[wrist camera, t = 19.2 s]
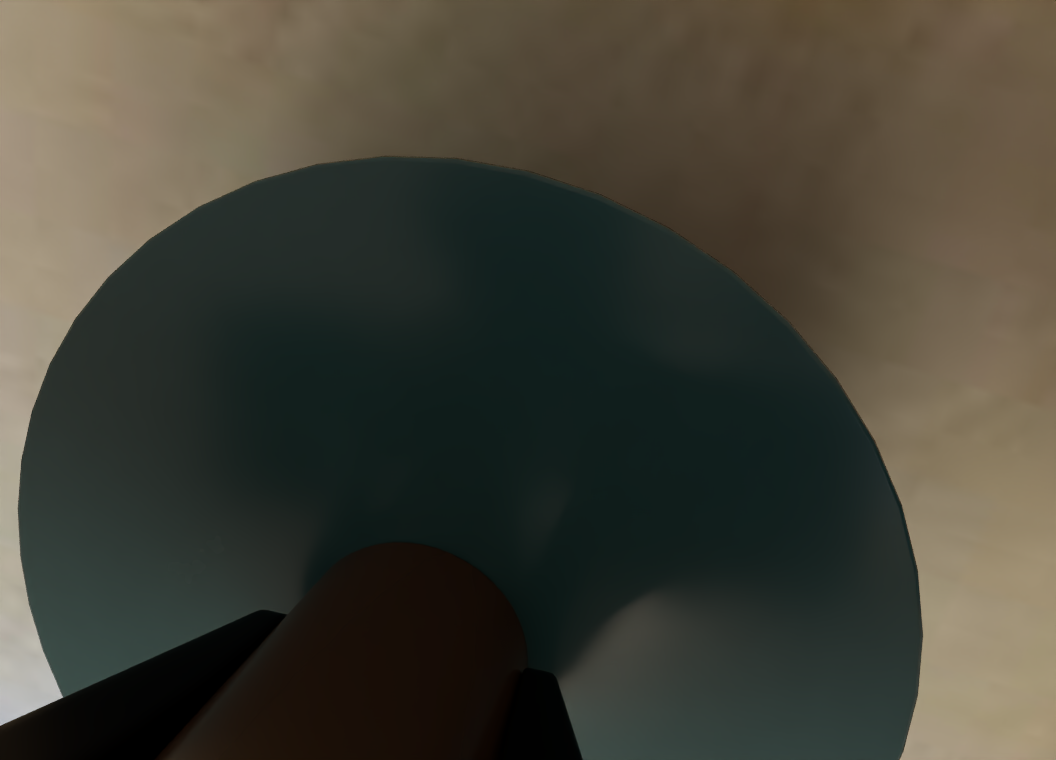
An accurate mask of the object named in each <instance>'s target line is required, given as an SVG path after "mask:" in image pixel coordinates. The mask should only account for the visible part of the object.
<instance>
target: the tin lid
mask: <svg viewBox="0 0 1056 760" xmlns="http://www.w3.org/2000/svg"><path fill="white" fill-rule="evenodd" d="M18 520H19V538H20V556H21V562H22V568H23V574H24V579H25V585H26V590H27V596H28V601H29V606H30V609H31V613H32V616H33V619H34V622H35V626H36V629H37V632H38V636H39V639H40V642H41V646H42V649H43V652H44V654H45V656H46V659H47V661H48V663H49V666H50V668H51V671H52V673H53V675H54V678H55V680H56V682H57V685H58V687H59V689H60V692H61V694H62V696H63V698H64V697H66V696H68V695H70V694H72V693H75V692H77V691H79V690H81V689H84V688H86V687H88V686H90V685H93V684H95V683H97V682H99V681H101V680H104V679H106V678H108V677H110V676H113V675H115V674H117V673H119V672H122V671H124V670H126V669H128V668H130V667H133V666H135V665H137V664H139V663H142V662H144V661H146V660H148V659H151V658H153V657H155V656H157V655H160V654H162V653H164V652H166V651H168V650H171V649H173V648H175V647H177V646H180V645H182V644H184V643H186V642H189V641H191V640H193V639H195V638H197V637H200V636H202V635H204V634H206V633H209V632H211V631H213V630H215V629H218V628H220V627H222V626H224V625H226V624H229V623H231V622H233V621H235V620H238V619H240V618H242V617H244V616H247V615H249V614H251V613H253V612H256V611H258V610H270V611H275V612H279V613H284V614H287V616H286V617H285V618H284V619H283V620H282V621H281V622H280V623H279V624H278V625H277V626H276V628H275V629H274V630H273V631H272V632H271V633H270V634H269V635H268V636H267V637H266V638H265V640H264V641H263V642H262V643H261V644H260V645H259V646H258V647H257V648H256V649H255V650H254V652H253V653H252V654H251V655H250V656H249V657H248V658H247V659H246V660H245V661H244V663H243V664H242V665H241V666H240V667H239V668H238V669H237V670H236V671H235V672H234V673H233V675H232V676H231V677H230V678H229V679H228V680H227V681H226V682H225V683H224V684H223V685H222V687H221V688H220V689H219V690H218V691H217V692H216V693H215V694H214V695H213V696H212V697H211V699H210V700H209V701H208V702H207V703H206V704H205V705H204V706H203V707H202V708H201V709H200V711H199V712H198V713H197V714H196V715H195V716H194V717H193V718H192V719H191V720H190V721H189V723H188V724H187V725H186V726H185V727H184V728H183V729H182V730H181V731H180V732H179V733H178V735H177V736H176V737H175V738H174V739H173V740H172V741H171V742H170V743H169V744H168V745H167V747H166V748H165V749H164V750H163V751H162V752H161V753H160V754H159V755H158V756H157V758H156V759H155V760H502V759H503V752H504V746H505V741H506V736H507V732H508V728H509V724H510V720H511V716H512V712H513V708H514V704H515V700H516V696H517V692H518V688H519V684H520V680H521V676H522V672H523V670H524V669H525V668H533V669H538V670H542V671H547V672H551V673H553V674H554V675H555V676H556V678H557V681H558V684H559V687H560V690H561V693H562V696H563V699H564V702H565V705H566V708H567V712H568V715H569V718H570V721H571V724H572V727H573V730H574V733H575V736H576V739H577V743H578V746H579V749H580V752H581V755H582V758H583V760H900V757H901V755H902V753H903V750H904V747H905V743H906V739H907V735H908V731H909V727H910V723H911V719H912V716H913V712H914V708H915V704H916V700H917V696H918V686H919V675H920V663H921V651H922V640H923V630H922V618H921V605H920V593H919V580H918V569H917V565H916V561H915V557H914V553H913V549H912V545H911V541H910V537H909V532H908V528H907V524H906V520H905V516H904V512H903V508H902V504H901V502H900V500H899V497H898V495H897V492H896V490H895V488H894V485H893V483H892V480H891V478H890V476H889V473H888V471H887V469H886V466H885V464H884V461H883V459H882V457H881V454H880V452H879V450H878V447H877V445H876V442H875V440H874V439H873V437H872V435H871V434H870V432H869V430H868V429H867V427H866V425H865V424H864V422H863V421H862V419H861V417H860V416H859V414H858V412H857V411H856V409H855V407H854V406H853V404H852V403H851V401H850V399H849V398H848V396H847V394H846V393H845V391H844V390H843V388H842V386H841V385H840V383H839V381H838V380H837V378H836V377H835V376H834V375H833V374H832V372H831V371H830V370H829V369H828V368H827V366H826V365H825V364H824V363H823V362H822V360H821V359H820V358H819V357H818V356H817V354H816V353H815V352H814V351H813V350H812V348H811V347H810V346H809V345H808V344H807V342H806V341H805V340H804V339H803V338H802V336H801V335H800V334H799V333H798V332H797V330H796V329H795V328H794V327H793V326H792V324H791V323H790V322H789V321H788V320H787V319H786V318H785V317H784V316H782V315H781V314H780V313H779V312H778V311H777V310H776V309H775V308H774V307H772V306H771V305H770V304H769V303H768V302H767V301H766V300H765V299H764V298H762V297H761V296H760V295H759V294H758V293H757V292H756V291H755V290H754V289H752V288H751V287H750V286H749V285H748V284H747V283H746V282H745V281H744V280H742V279H741V278H740V277H739V276H738V275H737V274H736V273H735V272H734V271H732V270H731V269H729V268H728V267H726V266H725V265H723V264H722V263H720V262H719V261H717V260H716V259H715V258H713V257H712V256H710V255H709V254H707V253H706V252H704V251H703V250H701V249H700V248H698V247H697V246H695V245H694V244H692V243H691V242H689V241H688V240H686V239H685V238H683V237H682V236H680V235H679V234H677V233H676V232H674V231H673V230H671V229H670V228H668V227H666V226H664V225H662V224H660V223H658V222H656V221H654V220H652V219H650V218H648V217H646V216H644V215H642V214H640V213H638V212H636V211H634V210H631V209H629V208H627V207H625V206H623V205H621V204H619V203H617V202H615V201H613V200H611V199H609V198H607V197H605V196H603V195H601V194H598V193H595V192H592V191H589V190H586V189H583V188H580V187H577V186H574V185H570V184H567V183H564V182H561V181H558V180H555V179H552V178H549V177H546V176H543V175H540V174H537V173H534V172H531V171H527V170H521V169H515V168H510V167H504V166H498V165H493V164H487V163H481V162H476V161H470V160H464V159H459V158H438V157H405V156H380V157H372V158H363V159H355V160H346V161H338V162H329V163H321V164H316V165H312V166H308V167H305V168H301V169H297V170H294V171H290V172H287V173H283V174H279V175H276V176H272V177H268V178H265V179H261V180H257V181H255V182H252V183H250V184H248V185H246V186H244V187H241V188H239V189H237V190H235V191H233V192H230V193H228V194H226V195H224V196H221V197H219V198H217V199H215V200H213V201H210V202H208V203H206V204H204V205H201V206H200V207H198V208H196V209H195V210H193V211H192V212H190V213H189V214H187V215H186V216H184V217H183V218H181V219H180V220H178V221H177V222H175V223H174V224H172V225H170V226H169V227H167V228H166V229H164V230H163V231H161V232H160V233H158V234H157V235H155V236H154V237H152V238H151V239H149V240H148V241H147V242H146V243H145V244H144V245H143V246H142V247H141V248H139V249H138V250H137V251H136V252H135V253H134V254H133V255H132V256H131V257H130V258H129V259H127V260H126V261H125V262H124V263H123V264H122V265H121V266H120V267H119V268H118V269H117V270H115V271H114V272H113V273H112V274H111V275H110V276H109V277H108V278H107V279H106V281H105V282H104V283H103V284H102V286H101V287H100V288H99V289H98V291H97V292H96V293H95V295H94V296H93V297H92V298H91V300H90V301H89V302H88V303H87V305H86V306H85V307H84V308H83V310H82V311H81V312H80V314H79V315H78V316H77V317H76V319H75V320H74V322H73V324H72V326H71V327H70V329H69V331H68V333H67V334H66V336H65V338H64V340H63V342H62V343H61V345H60V347H59V349H58V350H57V352H56V354H55V356H54V358H53V359H52V361H51V363H50V365H49V368H48V370H47V373H46V376H45V378H44V381H43V384H42V386H41V389H40V392H39V394H38V397H37V400H36V402H35V405H34V408H33V410H32V414H31V418H30V423H29V428H28V432H27V437H26V442H25V446H24V451H23V455H22V460H21V473H20V487H19V500H18Z"/></svg>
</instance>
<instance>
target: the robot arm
mask: <svg viewBox="0 0 1056 760" xmlns="http://www.w3.org/2000/svg"><path fill="white" fill-rule="evenodd" d="M286 616H287V614H284V613H279V612H275V611H270V610H258V611H256V612H253V613H251V614H249V615H247V616H244V617H242V618H240V619H238V620H235V621H233V622H231V623H229V624H226V625H224V626H222V627H220V628H218V629H215V630H213V631H211V632H209V633H206V634H204V635H202V636H200V637H197V638H195V639H193V640H191V641H189V642H186V643H184V644H182V645H180V646H177V647H175V648H173V649H171V650H168V651H166V652H164V653H162V654H160V655H157V656H155V657H153V658H151V659H148V660H146V661H144V662H142V663H139V664H137V665H135V666H133V667H130V668H128V669H126V670H124V671H122V672H119V673H117V674H115V675H113V676H110V677H108V678H106V679H104V680H101V681H99V682H97V683H95V684H93V685H90V686H88V687H86V688H84V689H81V690H79V691H77V692H75V693H72V694H70V695H68V696H66V697H64V698H61V699H59V700H57V701H55V702H52V703H50V704H48V705H46V706H43V707H41V708H39V709H37V710H34V711H32V712H30V713H28V714H26V715H23V716H21V717H19V718H17V719H14V720H12V721H10V722H8V723H5V724H3V725H1V726H0V760H155V759H156V758H157V756H158V755H159V754H160V753H161V752H162V751H163V750H164V749H165V748H166V747H167V745H168V744H169V743H170V742H171V741H172V740H173V739H174V738H175V737H176V736H177V735H178V733H179V732H180V731H181V730H182V729H183V728H184V727H185V726H186V725H187V724H188V723H189V721H190V720H191V719H192V718H193V717H194V716H195V715H196V714H197V713H198V712H199V711H200V709H201V708H202V707H203V706H204V705H205V704H206V703H207V702H208V701H209V700H210V699H211V697H212V696H213V695H214V694H215V693H216V692H217V691H218V690H219V689H220V688H221V687H222V685H223V684H224V683H225V682H226V681H227V680H228V679H229V678H230V677H231V676H232V675H233V673H234V672H235V671H236V670H237V669H238V668H239V667H240V666H241V665H242V664H243V663H244V661H245V660H246V659H247V658H248V657H249V656H250V655H251V654H252V653H253V652H254V650H255V649H256V648H257V647H258V646H259V645H260V644H261V643H262V642H263V641H264V640H265V638H266V637H267V636H268V635H269V634H270V633H271V632H272V631H273V630H274V629H275V628H276V626H277V625H278V624H279V623H280V622H281V621H282V620H283V619H284V618H285V617H286ZM502 760H583V758H582V755H581V752H580V749H579V746H578V743H577V739H576V736H575V733H574V730H573V727H572V724H571V721H570V718H569V715H568V712H567V708H566V705H565V702H564V699H563V696H562V693H561V690H560V687H559V684H558V681H557V678H556V676H555V675H554V674H553V673H551V672H547V671H542V670H538V669H533V668H525V669H524V670H523V672H522V676H521V680H520V684H519V688H518V692H517V696H516V700H515V704H514V708H513V712H512V716H511V720H510V724H509V728H508V732H507V736H506V741H505V746H504V752H503V759H502Z"/></svg>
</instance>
